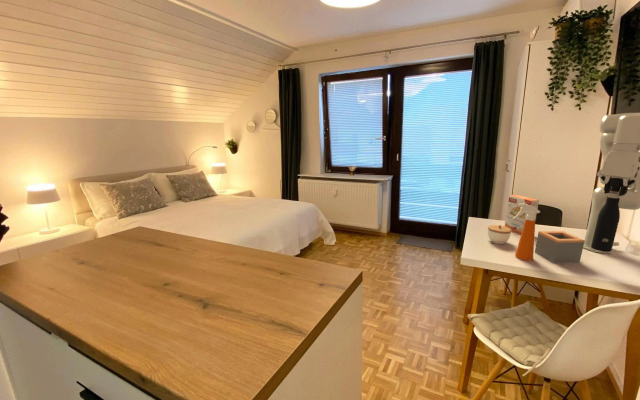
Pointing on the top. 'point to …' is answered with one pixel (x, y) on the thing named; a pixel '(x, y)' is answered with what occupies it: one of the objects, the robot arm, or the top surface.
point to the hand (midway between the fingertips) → (614, 193)
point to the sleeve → (559, 246)
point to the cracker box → (514, 209)
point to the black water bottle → (608, 219)
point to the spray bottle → (527, 233)
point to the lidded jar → (498, 234)
